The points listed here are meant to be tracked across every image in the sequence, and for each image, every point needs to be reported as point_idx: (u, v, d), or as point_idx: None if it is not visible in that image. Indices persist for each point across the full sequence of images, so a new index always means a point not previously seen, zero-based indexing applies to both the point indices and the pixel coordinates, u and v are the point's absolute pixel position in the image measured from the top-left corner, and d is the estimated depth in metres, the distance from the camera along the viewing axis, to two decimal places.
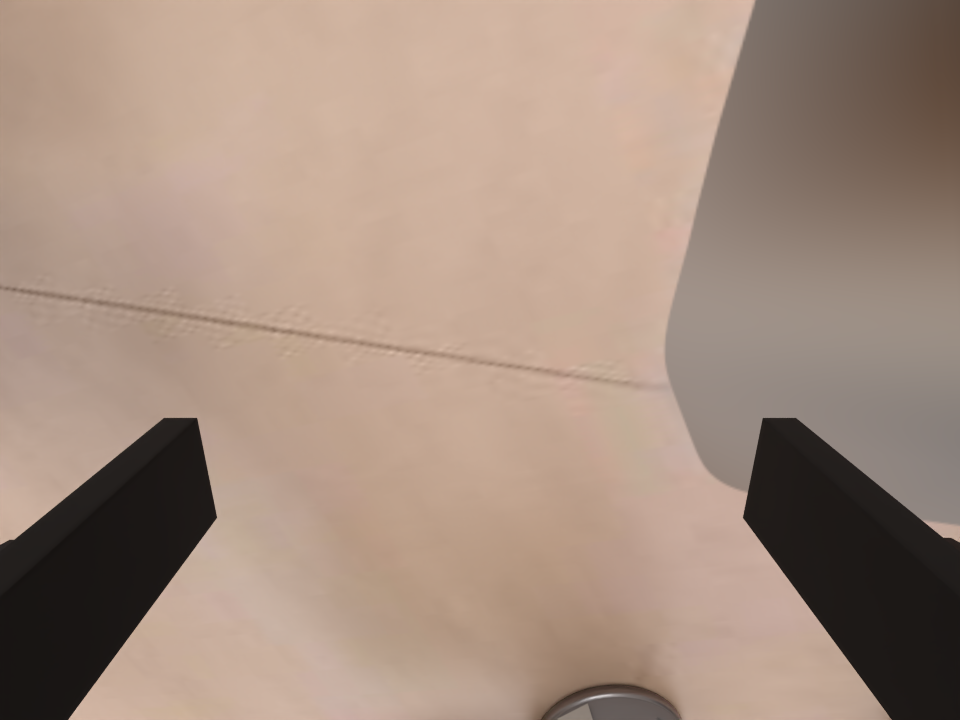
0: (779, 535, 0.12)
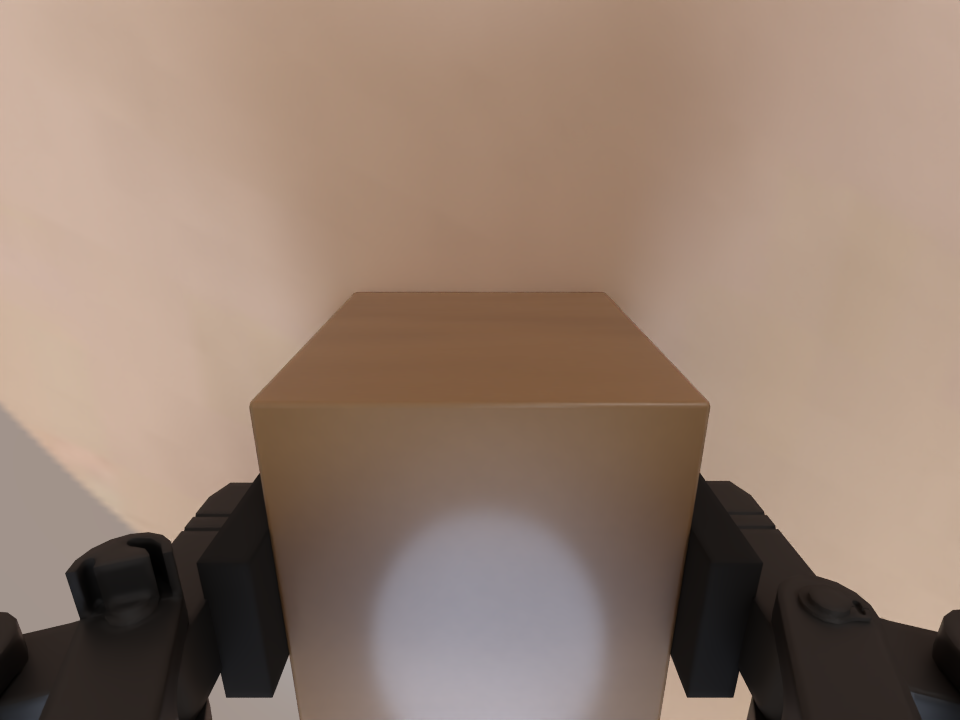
0: None
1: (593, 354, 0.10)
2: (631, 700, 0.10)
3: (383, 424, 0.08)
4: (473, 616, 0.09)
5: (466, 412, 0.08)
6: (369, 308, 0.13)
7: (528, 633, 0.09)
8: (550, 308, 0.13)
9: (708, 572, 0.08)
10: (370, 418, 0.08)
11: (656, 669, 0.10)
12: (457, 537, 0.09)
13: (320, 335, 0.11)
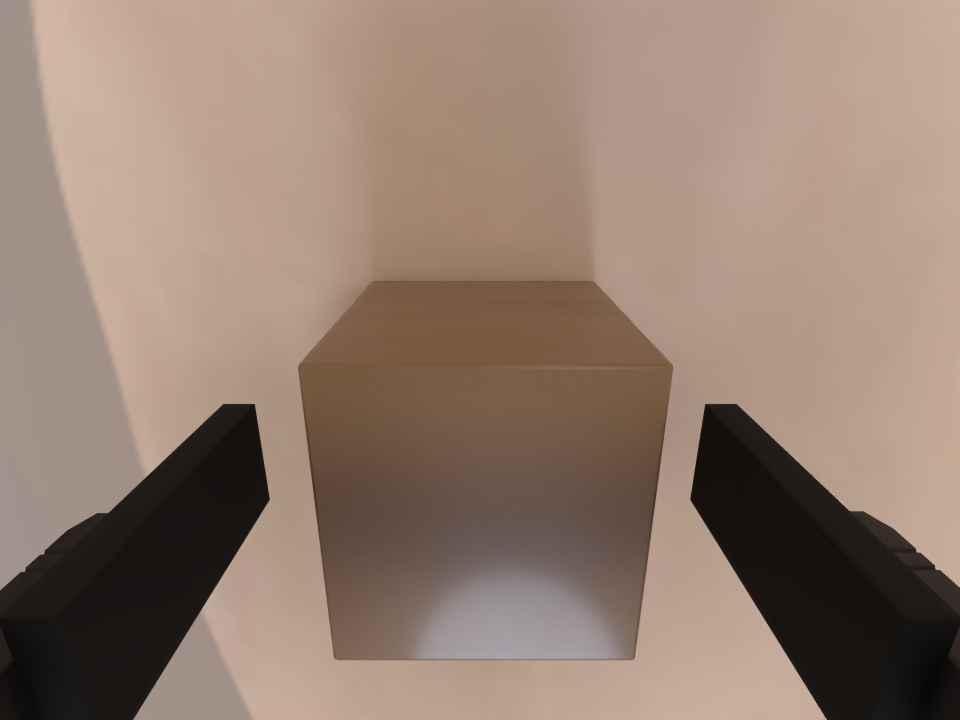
0: (717, 513, 0.12)
1: (580, 330, 0.12)
2: (612, 622, 0.12)
3: (406, 382, 0.10)
4: (479, 547, 0.11)
5: (475, 372, 0.10)
6: (386, 294, 0.15)
7: (525, 562, 0.11)
8: (544, 294, 0.15)
9: (894, 627, 0.07)
10: (396, 378, 0.10)
11: (633, 594, 0.11)
12: (467, 479, 0.10)
13: (347, 316, 0.13)
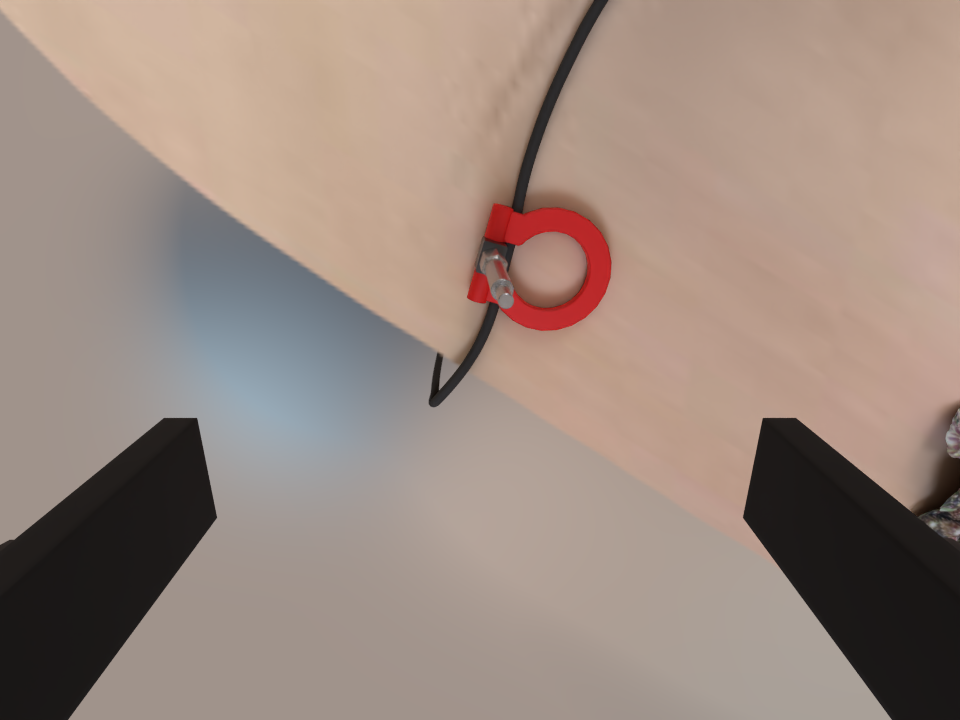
0: (779, 535, 0.12)
1: None
2: None
3: None
4: None
5: None
6: None
7: None
8: None
9: None
10: None
11: None
12: None
13: None
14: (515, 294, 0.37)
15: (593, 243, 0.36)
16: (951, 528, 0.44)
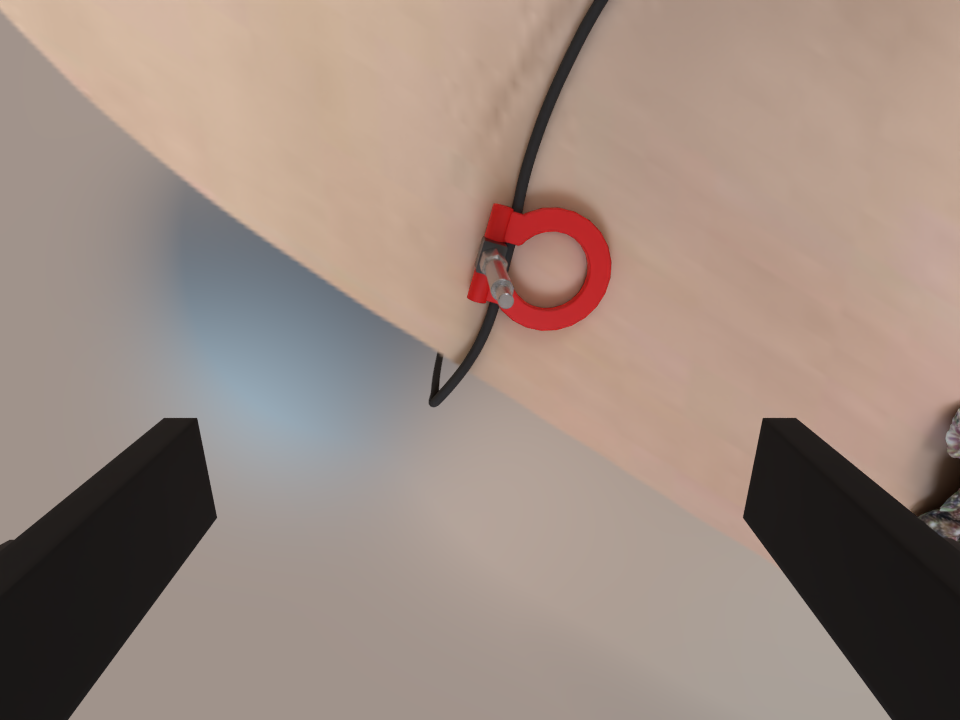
0: (779, 535, 0.12)
1: None
2: None
3: None
4: None
5: None
6: None
7: None
8: None
9: None
10: None
11: None
12: None
13: None
14: (515, 294, 0.37)
15: (593, 243, 0.36)
16: (951, 528, 0.44)
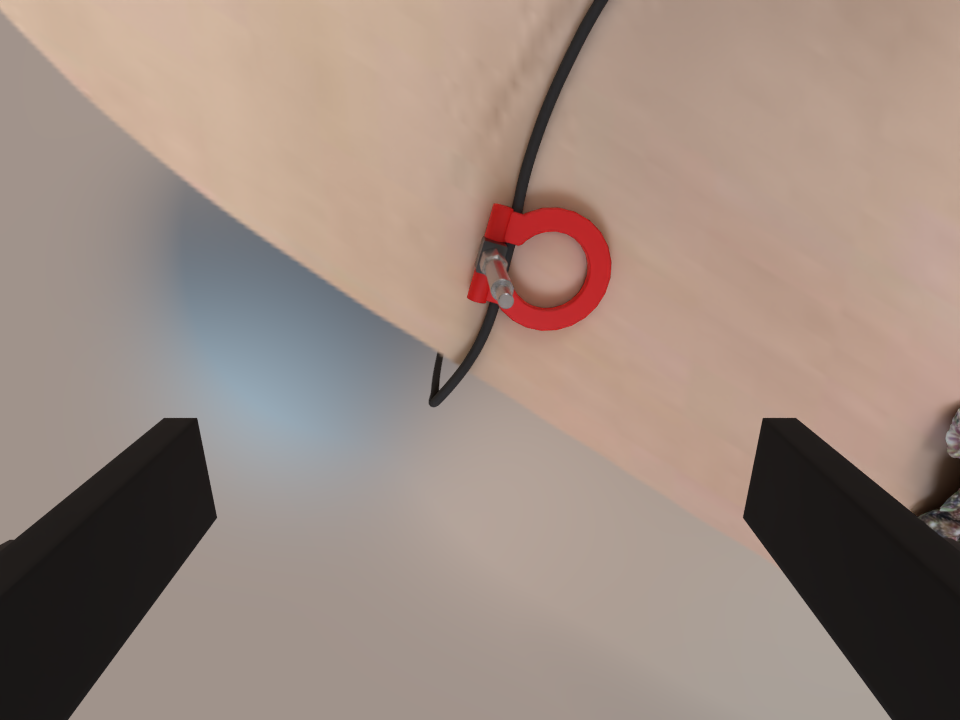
0: (779, 535, 0.12)
1: None
2: None
3: None
4: None
5: None
6: None
7: None
8: None
9: None
10: None
11: None
12: None
13: None
14: (515, 294, 0.37)
15: (593, 243, 0.36)
16: (951, 528, 0.44)
